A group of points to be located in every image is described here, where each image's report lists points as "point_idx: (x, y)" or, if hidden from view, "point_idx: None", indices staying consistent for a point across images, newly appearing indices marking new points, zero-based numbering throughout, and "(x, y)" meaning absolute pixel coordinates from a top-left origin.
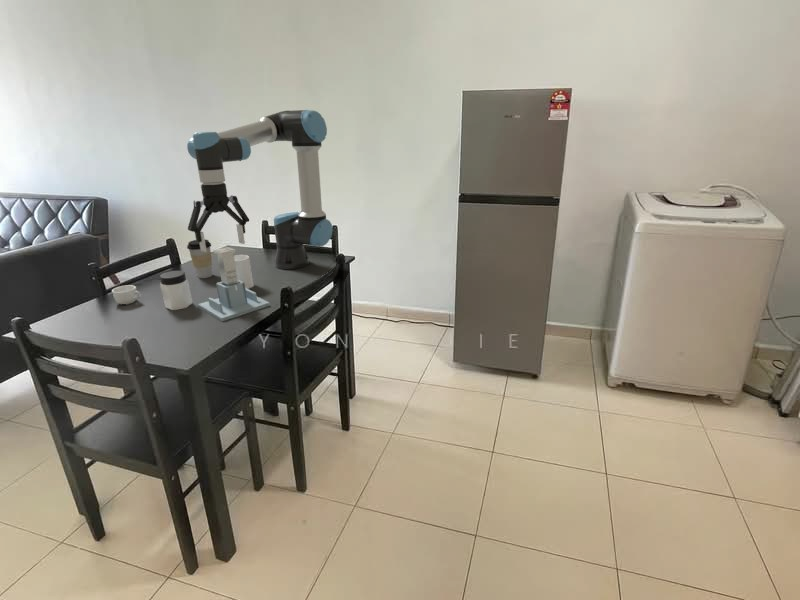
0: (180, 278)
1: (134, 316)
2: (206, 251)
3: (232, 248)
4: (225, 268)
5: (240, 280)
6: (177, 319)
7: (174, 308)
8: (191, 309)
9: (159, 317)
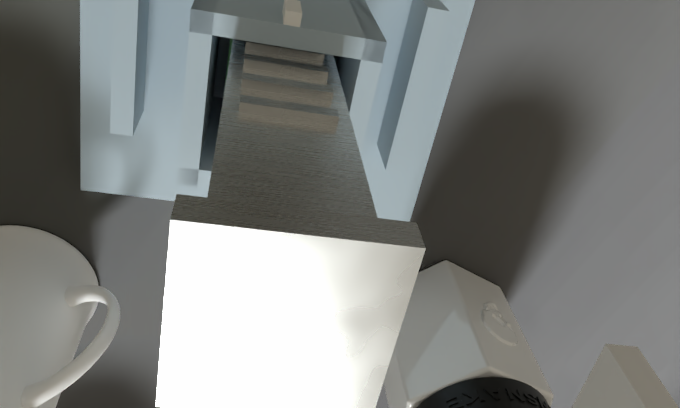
0: (488, 400)
1: None
2: (609, 346)
3: (164, 301)
4: (347, 147)
5: (42, 284)
6: (578, 165)
7: (493, 286)
8: (443, 222)
9: (590, 260)
